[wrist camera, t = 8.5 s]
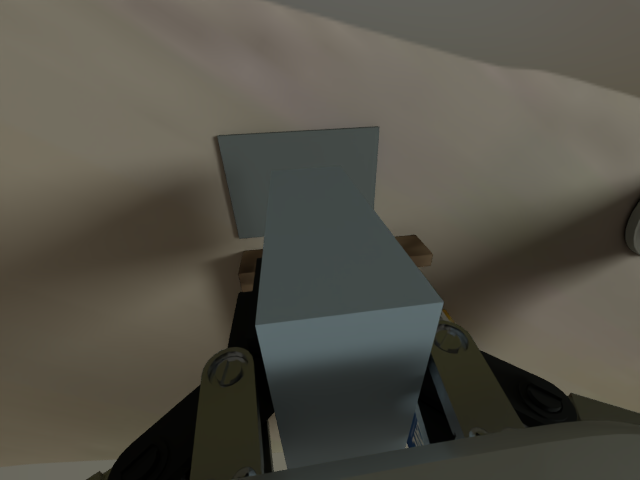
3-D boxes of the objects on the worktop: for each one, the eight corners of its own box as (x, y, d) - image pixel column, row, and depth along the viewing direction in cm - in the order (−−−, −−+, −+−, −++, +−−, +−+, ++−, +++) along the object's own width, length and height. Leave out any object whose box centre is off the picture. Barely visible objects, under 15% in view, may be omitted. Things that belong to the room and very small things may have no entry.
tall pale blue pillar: (340, 166, 14) (444, 302, 5) (340, 275, 17) (400, 465, 9) (271, 170, 13) (255, 326, 5) (285, 281, 17) (291, 485, 8)
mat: (377, 126, 21) (379, 127, 20) (371, 224, 25) (372, 226, 24) (218, 135, 20) (217, 136, 19) (239, 236, 24) (239, 238, 23)
